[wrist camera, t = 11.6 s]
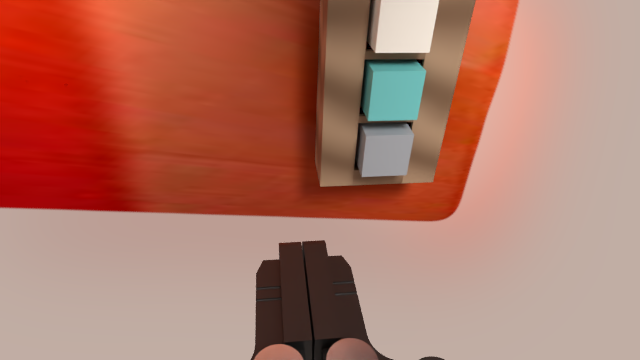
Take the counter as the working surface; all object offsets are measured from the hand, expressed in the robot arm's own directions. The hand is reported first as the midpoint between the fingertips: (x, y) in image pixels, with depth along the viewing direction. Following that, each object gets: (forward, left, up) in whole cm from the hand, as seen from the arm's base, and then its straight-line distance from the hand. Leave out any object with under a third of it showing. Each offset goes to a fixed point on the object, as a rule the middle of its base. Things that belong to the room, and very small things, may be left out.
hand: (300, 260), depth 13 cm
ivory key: (-2, +10, -26) cm, 28 cm away
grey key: (+10, +10, -26) cm, 30 cm away
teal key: (+4, +10, -26) cm, 28 cm away
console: (+4, +10, -29) cm, 31 cm away
